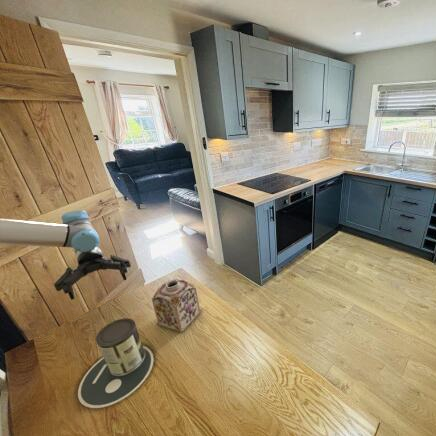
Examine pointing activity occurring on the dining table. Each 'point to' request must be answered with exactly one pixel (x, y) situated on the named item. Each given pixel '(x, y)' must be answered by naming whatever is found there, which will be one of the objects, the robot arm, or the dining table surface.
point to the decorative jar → (176, 304)
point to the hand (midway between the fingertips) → (99, 285)
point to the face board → (111, 383)
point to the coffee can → (121, 346)
